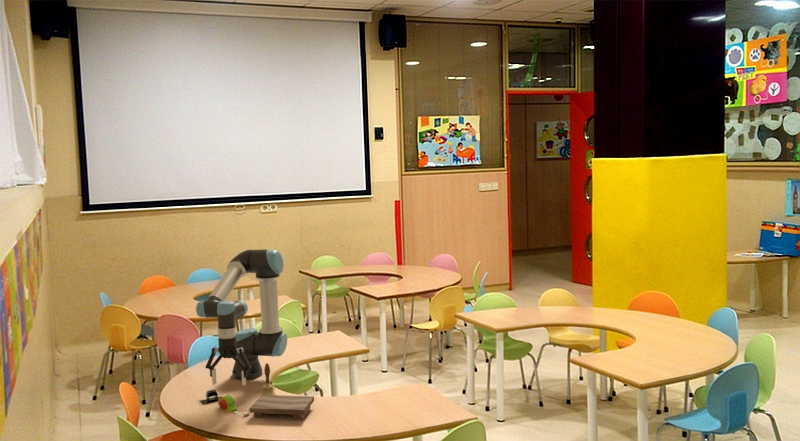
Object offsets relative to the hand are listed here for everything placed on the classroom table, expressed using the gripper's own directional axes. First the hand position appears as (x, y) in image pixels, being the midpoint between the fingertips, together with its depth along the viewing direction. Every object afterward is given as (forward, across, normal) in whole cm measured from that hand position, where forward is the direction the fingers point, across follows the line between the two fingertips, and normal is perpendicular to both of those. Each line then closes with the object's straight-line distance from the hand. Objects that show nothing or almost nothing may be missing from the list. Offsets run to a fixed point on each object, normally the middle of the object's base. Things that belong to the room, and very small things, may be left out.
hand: (229, 384), depth 313 cm
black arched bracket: (+13, -14, +12) cm, 22 cm away
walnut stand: (+12, +24, 0) cm, 27 cm away
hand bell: (+12, +11, +18) cm, 25 cm away
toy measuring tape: (+12, +1, 0) cm, 13 cm away
